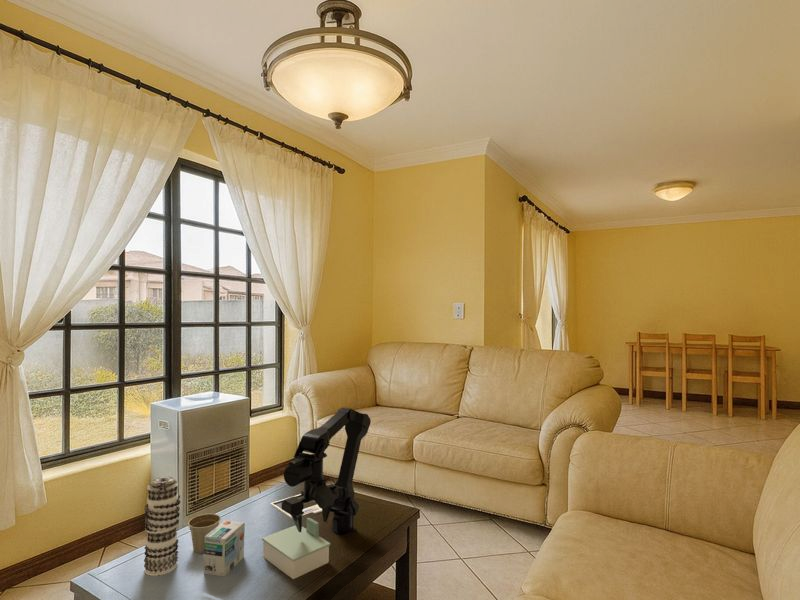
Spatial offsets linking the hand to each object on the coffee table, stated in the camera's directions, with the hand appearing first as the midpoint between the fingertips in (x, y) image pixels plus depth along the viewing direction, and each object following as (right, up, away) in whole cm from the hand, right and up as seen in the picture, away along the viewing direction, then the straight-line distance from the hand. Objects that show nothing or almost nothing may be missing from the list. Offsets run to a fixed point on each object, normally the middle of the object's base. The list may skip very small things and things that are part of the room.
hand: (312, 526), depth 140 cm
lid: (-4, -3, -4) cm, 7 cm away
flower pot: (-34, -8, +2) cm, 35 cm away
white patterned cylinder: (-42, -8, -8) cm, 43 cm away
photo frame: (-11, -9, +33) cm, 36 cm away
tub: (-4, -8, -4) cm, 10 cm away
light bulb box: (-24, -8, -8) cm, 26 cm away
